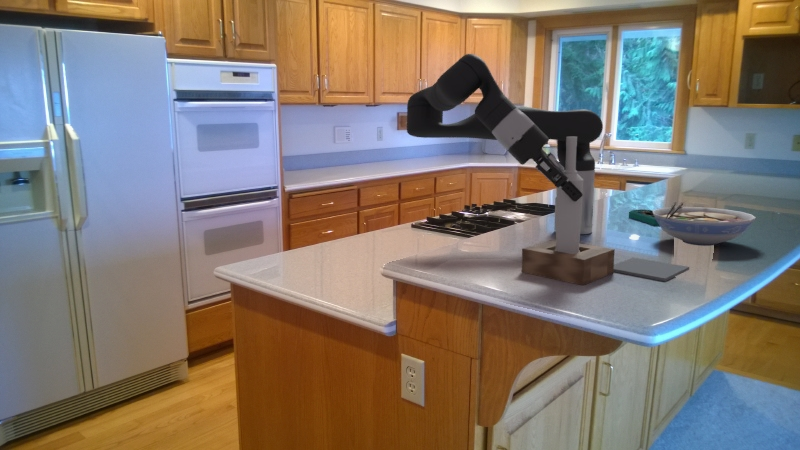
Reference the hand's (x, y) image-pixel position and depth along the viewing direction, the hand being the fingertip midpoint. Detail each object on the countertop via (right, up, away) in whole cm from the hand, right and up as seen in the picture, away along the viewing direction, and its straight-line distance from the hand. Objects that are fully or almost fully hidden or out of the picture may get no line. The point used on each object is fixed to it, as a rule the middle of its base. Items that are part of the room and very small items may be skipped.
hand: (578, 196), depth 116 cm
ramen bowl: (+39, -10, +29) cm, 49 cm away
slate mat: (+16, -15, +4) cm, 22 cm away
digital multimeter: (+40, -5, +59) cm, 71 cm away
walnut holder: (-1, -16, +3) cm, 16 cm away
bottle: (-2, -13, +3) cm, 13 cm away
